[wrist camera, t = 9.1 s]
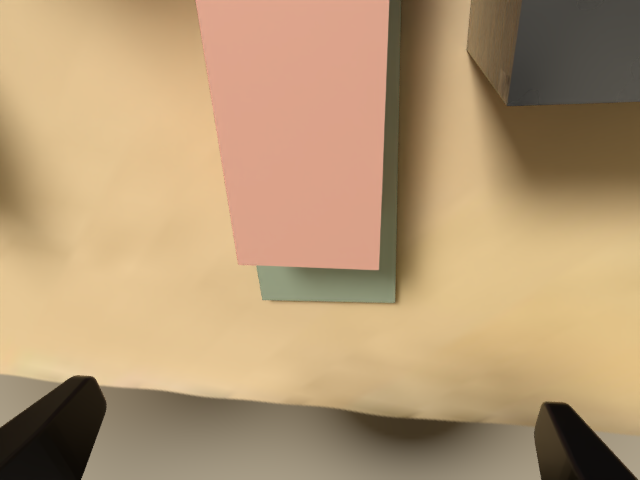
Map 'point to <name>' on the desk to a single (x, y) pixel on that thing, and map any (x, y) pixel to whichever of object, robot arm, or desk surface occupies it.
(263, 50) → the pink block
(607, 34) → the dispenser
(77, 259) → the desk surface
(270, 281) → the green block
